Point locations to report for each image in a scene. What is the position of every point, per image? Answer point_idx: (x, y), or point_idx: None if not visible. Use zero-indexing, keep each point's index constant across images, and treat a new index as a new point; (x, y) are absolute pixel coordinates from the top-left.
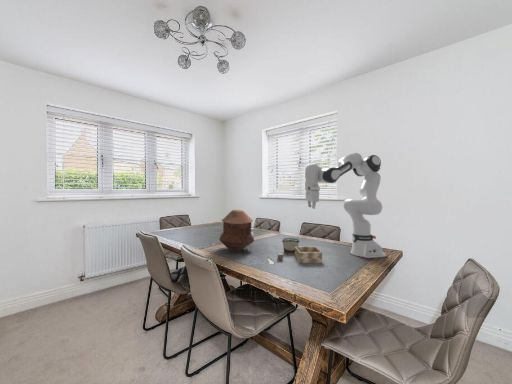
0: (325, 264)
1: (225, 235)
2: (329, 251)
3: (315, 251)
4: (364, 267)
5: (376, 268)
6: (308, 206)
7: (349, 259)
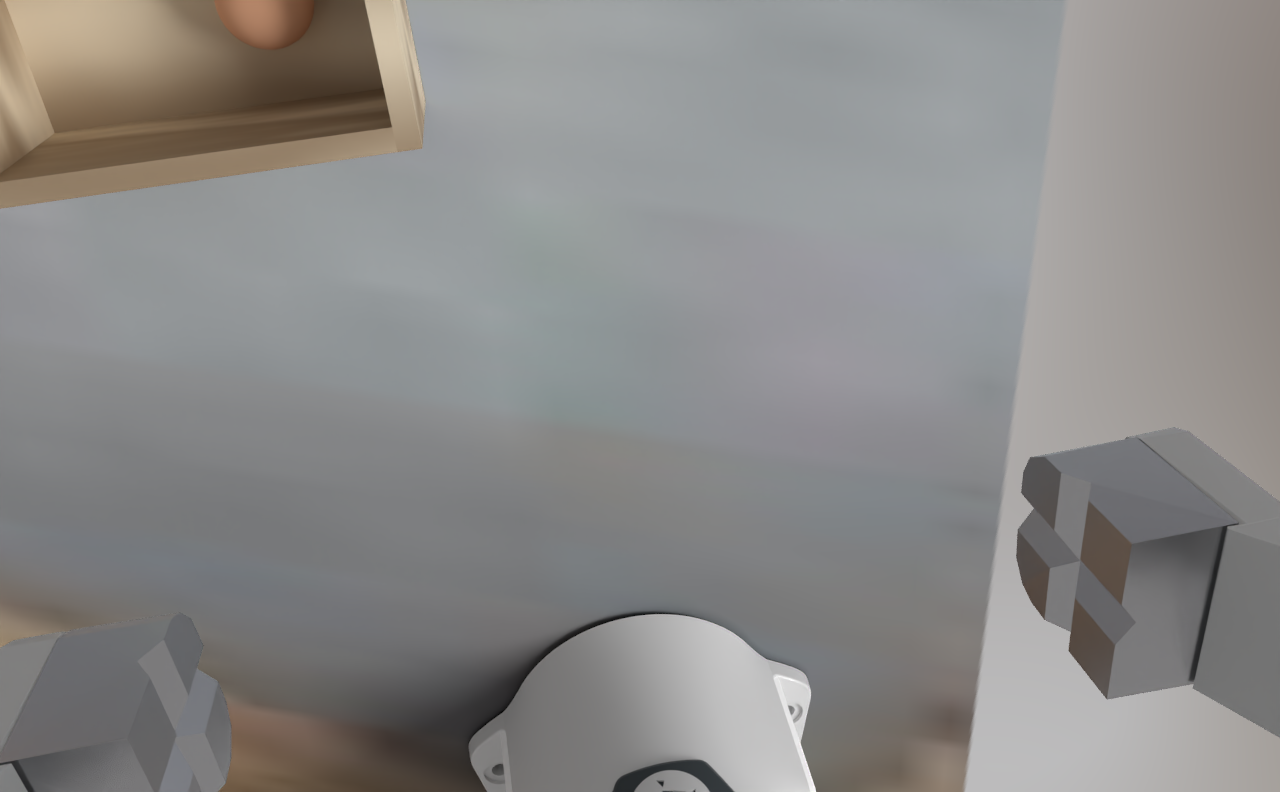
0: None
1: None
2: (757, 368)
3: (344, 115)
4: None
5: None
6: (1141, 445)
7: (378, 554)
